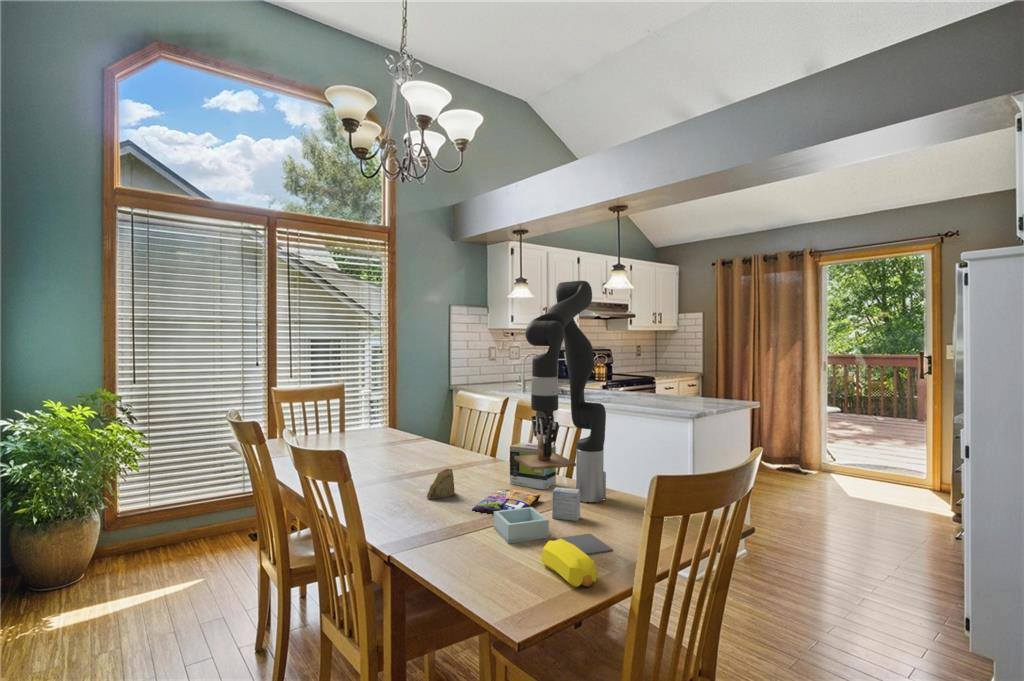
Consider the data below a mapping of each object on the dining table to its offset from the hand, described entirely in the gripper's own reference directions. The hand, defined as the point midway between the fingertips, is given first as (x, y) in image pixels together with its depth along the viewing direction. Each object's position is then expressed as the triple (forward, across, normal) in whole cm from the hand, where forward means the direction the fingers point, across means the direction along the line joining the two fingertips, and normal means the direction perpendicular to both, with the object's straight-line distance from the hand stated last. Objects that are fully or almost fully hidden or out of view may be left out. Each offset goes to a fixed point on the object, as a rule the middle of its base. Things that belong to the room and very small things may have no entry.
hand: (544, 454), depth 148 cm
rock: (+23, +47, +19) cm, 56 cm away
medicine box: (+23, +13, -13) cm, 30 cm away
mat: (+23, -8, -7) cm, 26 cm away
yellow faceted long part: (+24, -22, +3) cm, 33 cm away
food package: (+24, +30, +2) cm, 38 cm away
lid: (+2, 0, 0) cm, 2 cm away
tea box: (+23, +51, -17) cm, 59 cm away
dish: (+23, +6, +5) cm, 24 cm away
